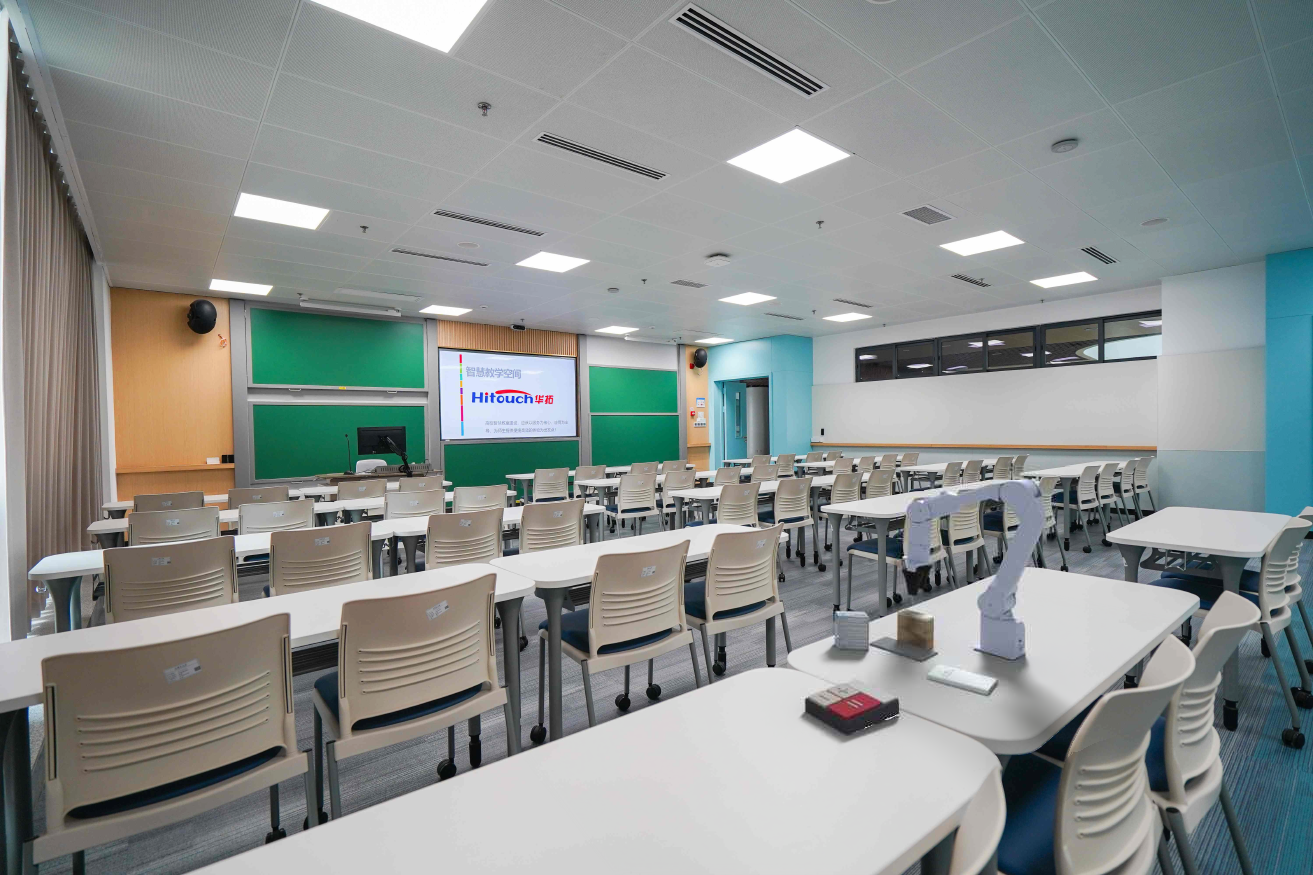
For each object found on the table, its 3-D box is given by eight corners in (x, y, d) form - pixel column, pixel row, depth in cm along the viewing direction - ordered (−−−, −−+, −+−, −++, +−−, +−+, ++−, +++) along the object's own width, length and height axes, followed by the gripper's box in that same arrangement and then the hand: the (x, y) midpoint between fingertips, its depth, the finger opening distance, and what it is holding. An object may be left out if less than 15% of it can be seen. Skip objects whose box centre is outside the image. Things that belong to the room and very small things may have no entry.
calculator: (803, 694, 119) (855, 675, 127) (804, 715, 119) (856, 694, 127) (846, 718, 110) (899, 695, 117) (847, 740, 110) (900, 716, 117)
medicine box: (865, 644, 155) (865, 611, 155) (869, 650, 151) (869, 616, 151) (834, 643, 156) (834, 610, 156) (837, 649, 152) (837, 615, 152)
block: (933, 646, 154) (933, 616, 153) (926, 650, 151) (927, 618, 151) (904, 638, 160) (904, 608, 160) (897, 641, 158) (897, 611, 158)
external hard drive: (987, 697, 126) (926, 680, 135) (997, 685, 132) (938, 669, 141) (988, 690, 126) (926, 673, 135) (997, 678, 132) (938, 662, 141)
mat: (937, 653, 149) (937, 652, 149) (921, 661, 144) (921, 659, 144) (886, 637, 160) (886, 636, 160) (869, 644, 155) (869, 642, 155)
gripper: (910, 536, 173) (907, 582, 174) (896, 545, 162) (893, 594, 163) (936, 541, 169) (933, 587, 170) (924, 550, 158) (921, 600, 159)
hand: (916, 591), depth 166 cm, fingers open, 7 cm apart
